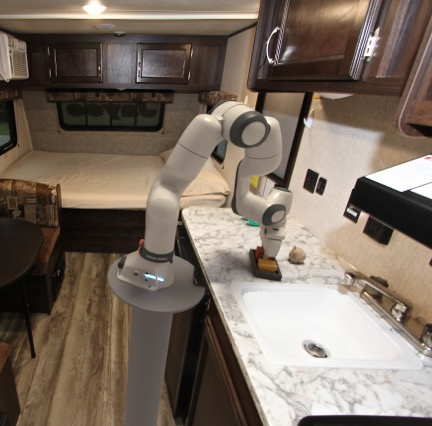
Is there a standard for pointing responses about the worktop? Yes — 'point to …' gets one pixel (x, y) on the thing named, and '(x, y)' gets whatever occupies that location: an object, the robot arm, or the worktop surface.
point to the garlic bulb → (297, 254)
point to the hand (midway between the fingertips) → (264, 254)
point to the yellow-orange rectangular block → (266, 266)
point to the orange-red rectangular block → (261, 253)
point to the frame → (261, 274)
